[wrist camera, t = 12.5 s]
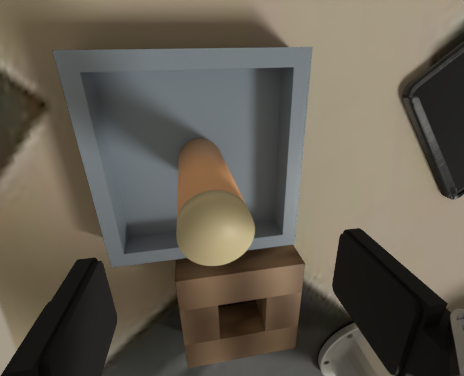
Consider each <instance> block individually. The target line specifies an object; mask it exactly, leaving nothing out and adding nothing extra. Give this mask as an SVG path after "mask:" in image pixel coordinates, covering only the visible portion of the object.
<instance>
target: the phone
mask: <svg viewBox="0 0 464 376" xmlns="http://www.w3.org/2000/svg"><path fill="white" fill-rule="evenodd" d="M460 45H461V46H460ZM445 58H446V59H445ZM442 60H443V61H442ZM441 61H442V62H441ZM440 62H441V63H440ZM438 63H439V64H438ZM402 99H403V103H404V105H405V108H406V110H407V112H408V115H409V117H410V120H411V122H412V124H413V127H414V129H415V131H416V134H417V136H418V139H419V141H420V143H421V146H422V148H423V150H424V153H425V155H426V158H427V160H428V162H429V165H430V167H431V169H432V172H433V174H434V177H435V179H436V181H437V184H438V186H439V188H440V191H441V193H442V195H443V196H445V197H447V198H449V199H457V198H459V197H461V196H462V195H463V194H464V41H463V42H462V43H460V44H459V45H458V46H457V47H455V48H454V49H453V50H452V51H450V52H449V53H448V54H446V55H445V56H444V57H443V58H441V59H440V60H439V61H438V62H436V63H435V64H434V65H432V66H431V67H430V68H429V69H427V70H426V71H425V72H424V73H422V74H421V75H420V76H418V77H417V78H416V79H415V80H413V81H412V82H411V83H410V84H409V85H408V86H407V87H406V88H405V90H404V92H403V98H402Z"/></svg>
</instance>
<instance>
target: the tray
mask: <svg viewBox="0 0 464 376" xmlns="http://www.w3.org/2000/svg"><path fill="white" fill-rule="evenodd" d="M52 52H53V55H54V59H55V63H56V66H57V70H58V74H59V77H60V81H61V85H62V88H63V92H64V96H65V99H66V103H67V107H68V110H69V114H70V118H71V121H72V125H73V129H74V132H75V136H76V140H77V143H78V147H79V151H80V154H81V158H82V162H83V165H84V169H85V173H86V176H87V180H88V184H89V187H90V191H91V195H92V198H93V202H94V206H95V209H96V213H97V217H98V220H99V224H100V228H101V231H102V235H103V239H104V242H105V246H106V250H107V253H108V257H109V261H110V264H111V268H113V267H121V266H129V265H137V264H144V263H152V262H160V261H168V260H176V259H183V258H187V257H186V256H185V255H184V254H183V253H182V252H181V250H180V249H179V246H178V244H177V238H176V231H177V194H178V158H179V153H180V150H181V149H182V147H183V146H184V145H185V144H186V143H187V142H189V141H191V140H194V139H207V140H210V141H211V142H213V143H214V144H215V145H216V146H217V147H218V148H219V150H220V152H221V154H222V156H223V158H224V160H225V162H226V164H227V166H228V168H229V171H230V173H231V175H232V177H233V179H234V181H235V183H236V185H237V187H238V189H239V191H240V193H241V195H242V198H243V200H244V202H245V204H246V206H247V208H248V210H249V212H250V214H251V216H252V218H253V221H254V225H255V235H254V239H253V241H252V243H251V245H250V247H249V248H248V250H254V249H262V248H269V247H277V246H285V245H293V244H295V233H296V222H297V211H298V200H299V189H300V178H301V167H302V156H303V146H304V135H305V124H306V113H307V102H308V91H309V80H310V69H311V58H312V47H267V48H189V49H110V50H52Z"/></svg>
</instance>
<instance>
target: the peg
mask: <svg viewBox="0 0 464 376" xmlns="http://www.w3.org/2000/svg"><path fill="white" fill-rule="evenodd" d="M254 235H255V225H254V221H253V218H252V216H251V214H250V212H249V210H248V208H247V206H246V204H245V202H244V200H243V198H242V195H241V193H240V191H239V189H238V187H237V185H236V183H235V181H234V179H233V177H232V175H231V173H230V171H229V168H228V166H227V164H226V162H225V160H224V158H223V156H222V154H221V152H220V150H219V148H218V147H217V146H216V145H215V144H214V143H213V142H211V141H210V140H207V139H194V140H191V141H189V142H187V143H186V144H185V145H184V146H183V147H182V149H181V150H180V153H179V158H178V194H177V231H176V238H177V244H178V246H179V249H180V250H181V252H182V253H183V254H184V255H185V256H186V257H187V258H188V259H189V260H191V261H193V262H195V263H197V264H200V265H205V266H219V265H224V264H227V263H230V262H232V261H234V260H236V259H238V258H239V257H240V256H242V255H243V254H244V253H245V252H246V251H247V250H248V248H249V247H250V245H251V243H252V241H253V239H254Z"/></svg>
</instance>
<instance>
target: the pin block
mask: <svg viewBox="0 0 464 376" xmlns="http://www.w3.org/2000/svg"><path fill="white" fill-rule="evenodd" d="M304 268H305V263H304V261H303V260H302V258H301V257H300V255H299V253H298V252H297V250H296V249H295V247H294V246H293V245H285V246H277V247H269V248H262V249H254V250H247V251H246V252H245V253H244V254H243V255H242V256H240V257H239V258H238V259H236V260H234V261H232V262H230V263H227V264H224V265H219V266H205V265H200V264H197V263H195V262H193V261H191V260H189V259H188V258H183V259H176V273H175V284H176V291H177V298H178V304H179V311H180V318H181V325H182V331H183V338H184V345H185V351H186V358H187V365H188V368H191V367H196V366H202V365H207V364H212V363H217V362H223V361H228V360H233V359H239V358H244V357H249V356H255V355H260V354H265V353H271V352H276V351H281V350H286V349H292V348H295V346H296V337H297V329H298V320H299V311H300V303H301V294H302V286H303V277H304ZM249 300H256V301H254V302H248V303H242V304H235V305H229V306H223V307H218V305H224V304H230V303H237V302H243V301H249Z"/></svg>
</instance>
